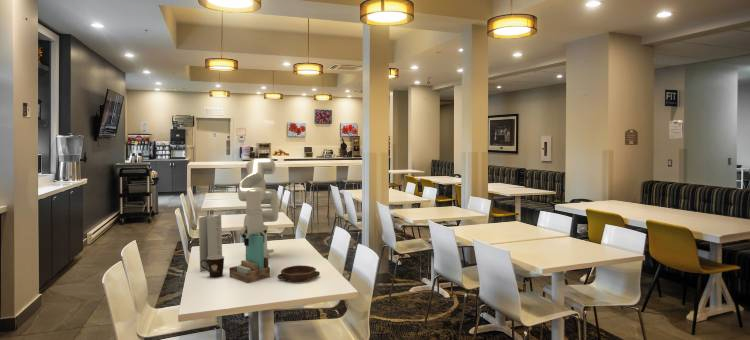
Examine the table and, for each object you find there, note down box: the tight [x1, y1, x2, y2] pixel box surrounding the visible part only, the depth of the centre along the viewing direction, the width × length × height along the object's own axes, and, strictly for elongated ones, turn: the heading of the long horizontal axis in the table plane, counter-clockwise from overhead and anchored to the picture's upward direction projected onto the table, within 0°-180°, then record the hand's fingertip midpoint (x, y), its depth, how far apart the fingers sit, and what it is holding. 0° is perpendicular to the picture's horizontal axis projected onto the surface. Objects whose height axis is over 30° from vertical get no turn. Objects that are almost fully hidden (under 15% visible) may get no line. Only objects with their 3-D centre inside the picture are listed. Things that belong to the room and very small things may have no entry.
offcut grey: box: [236, 265, 251, 275], centre depth 245 cm, size 2×10×6 cm, turn 49°
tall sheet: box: [245, 234, 264, 270], centre depth 250 cm, size 3×12×22 cm, turn 49°
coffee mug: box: [199, 255, 225, 278], centre depth 251 cm, size 12×9×10 cm
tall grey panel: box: [198, 213, 223, 273], centre depth 264 cm, size 14×6×30 cm, turn 168°
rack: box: [228, 257, 271, 284], centre depth 248 cm, size 14×16×10 cm
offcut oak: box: [240, 259, 258, 271], centre depth 248 cm, size 2×12×8 cm, turn 49°
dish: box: [276, 265, 320, 283], centre depth 245 cm, size 18×22×5 cm
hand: (254, 244), depth 249 cm, fingers open, 9 cm apart
